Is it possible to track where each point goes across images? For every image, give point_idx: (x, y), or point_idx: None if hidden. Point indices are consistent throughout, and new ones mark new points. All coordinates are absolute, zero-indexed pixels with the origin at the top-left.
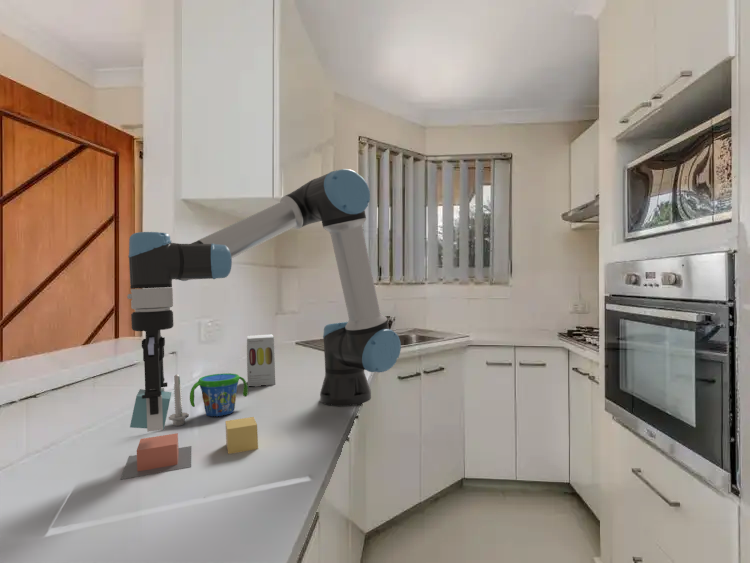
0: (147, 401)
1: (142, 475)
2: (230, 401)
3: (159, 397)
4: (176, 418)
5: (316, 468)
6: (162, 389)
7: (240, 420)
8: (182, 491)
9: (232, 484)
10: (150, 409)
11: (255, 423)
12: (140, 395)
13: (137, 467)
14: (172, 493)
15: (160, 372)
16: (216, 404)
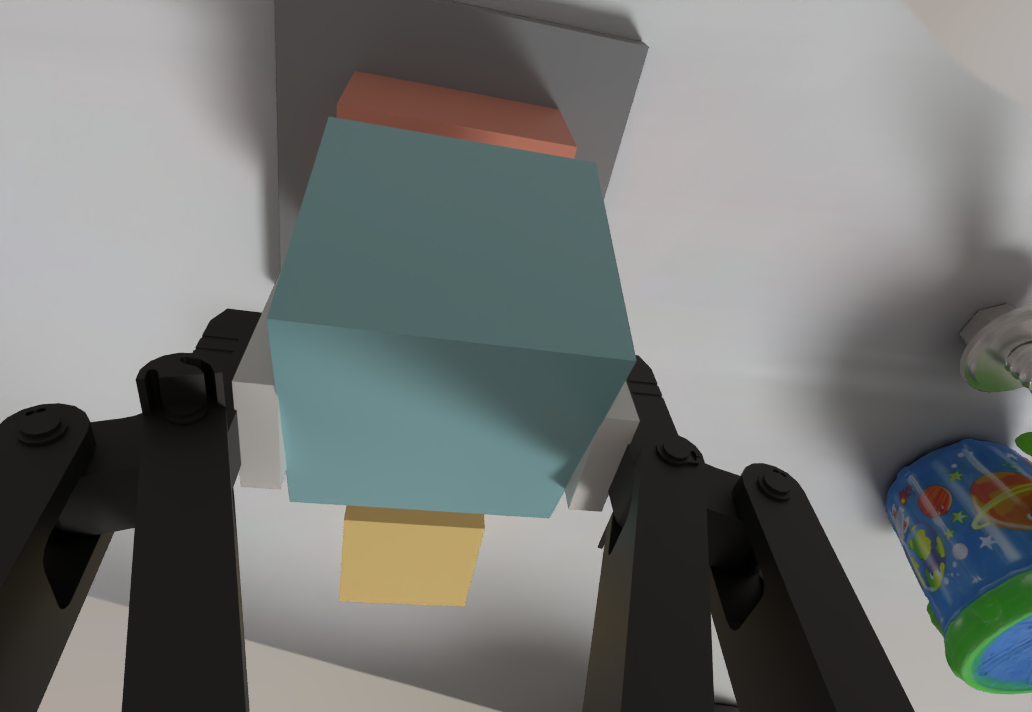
0: (241, 365)
1: (278, 90)
2: (908, 556)
3: (242, 464)
4: (987, 339)
5: (113, 589)
6: (571, 496)
7: (445, 569)
8: (53, 233)
9: (64, 393)
10: (203, 341)
11: (360, 599)
12: (311, 350)
13: (353, 77)
14: (43, 193)
15: (595, 653)
16: (932, 512)
